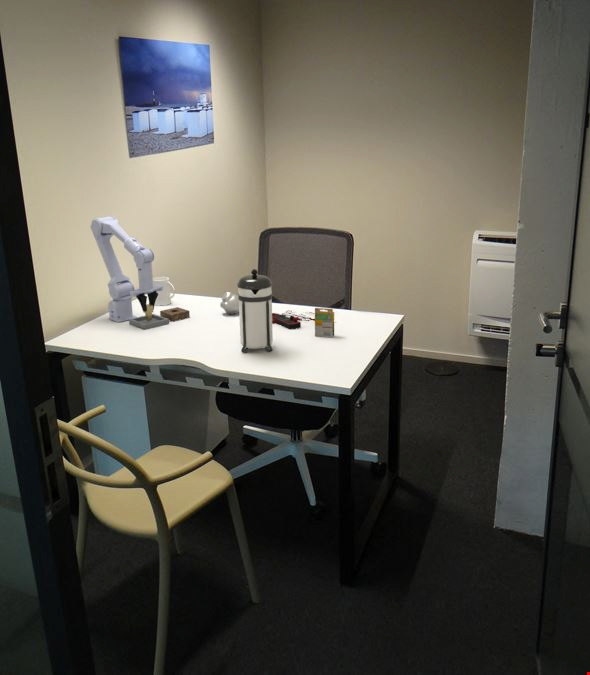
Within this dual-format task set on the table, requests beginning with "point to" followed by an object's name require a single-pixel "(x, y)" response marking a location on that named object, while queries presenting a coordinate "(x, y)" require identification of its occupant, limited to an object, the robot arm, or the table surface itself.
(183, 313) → the block
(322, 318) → the crayon box
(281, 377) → the table surface
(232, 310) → the white piggy bank
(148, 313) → the pin
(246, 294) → the coffee press
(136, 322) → the tray
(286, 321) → the digital clamp meter
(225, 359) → the table surface
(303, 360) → the table surface
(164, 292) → the mug
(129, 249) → the robot arm
